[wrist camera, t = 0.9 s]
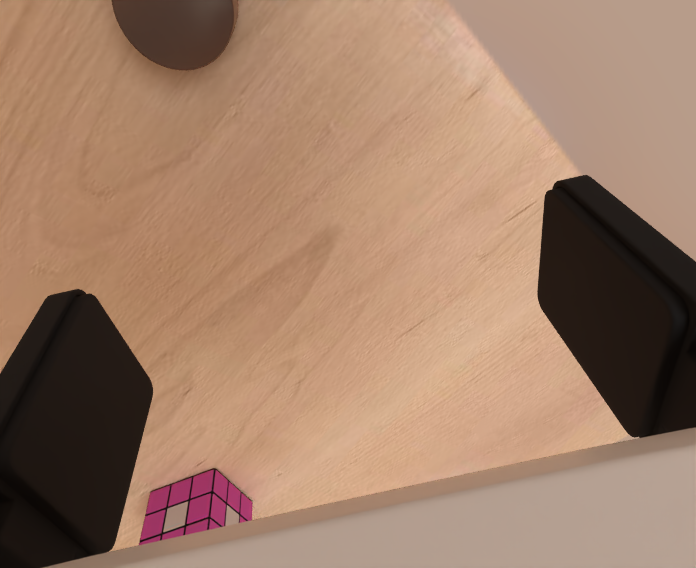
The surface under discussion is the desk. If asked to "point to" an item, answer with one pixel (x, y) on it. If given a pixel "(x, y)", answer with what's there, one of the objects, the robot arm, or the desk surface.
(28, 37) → the desk surface
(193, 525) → the puzzle toy
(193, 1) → the dark brown cylinder
